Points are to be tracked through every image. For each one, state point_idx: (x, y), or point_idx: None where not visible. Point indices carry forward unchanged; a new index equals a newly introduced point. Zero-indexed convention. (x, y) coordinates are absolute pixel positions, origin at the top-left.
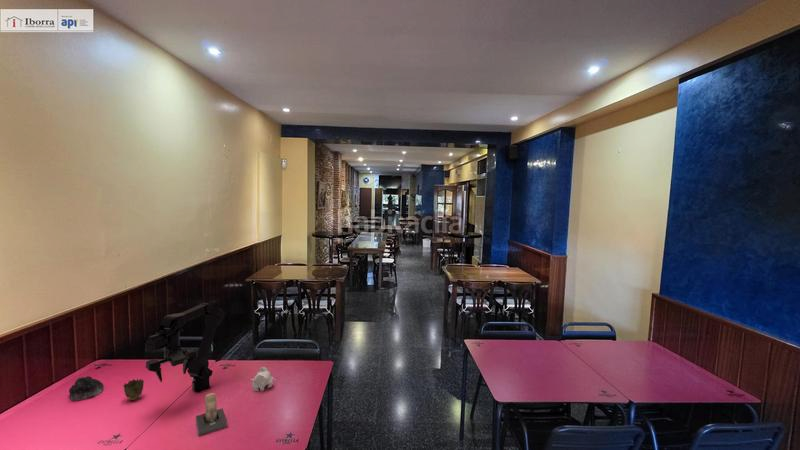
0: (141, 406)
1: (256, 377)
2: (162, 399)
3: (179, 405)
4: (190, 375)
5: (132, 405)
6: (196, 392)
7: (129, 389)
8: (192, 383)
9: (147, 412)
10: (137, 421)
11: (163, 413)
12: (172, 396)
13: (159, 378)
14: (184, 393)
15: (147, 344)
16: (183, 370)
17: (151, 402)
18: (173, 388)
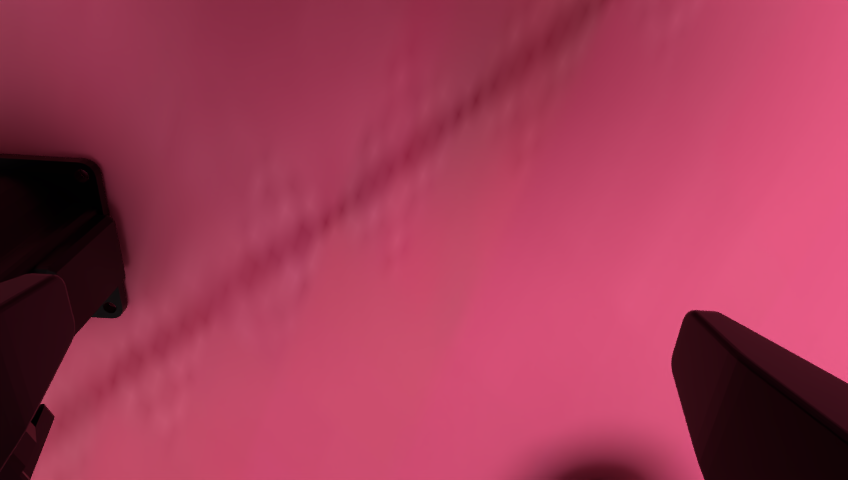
0: (625, 351)
1: None
2: (435, 328)
3: (355, 41)
4: (39, 429)
5: (660, 424)
6: (99, 175)
7: None
8: (82, 311)
9: (657, 189)
10: (825, 79)
11: (567, 6)
12: (340, 310)
13: (846, 385)
14: (222, 275)
15: None
16: (8, 395)
17: (531, 352)
18: (280, 444)
